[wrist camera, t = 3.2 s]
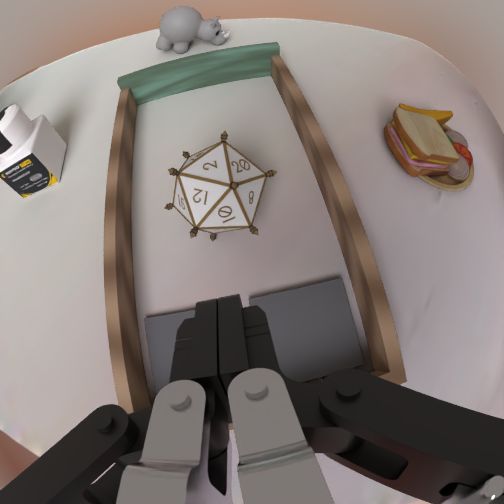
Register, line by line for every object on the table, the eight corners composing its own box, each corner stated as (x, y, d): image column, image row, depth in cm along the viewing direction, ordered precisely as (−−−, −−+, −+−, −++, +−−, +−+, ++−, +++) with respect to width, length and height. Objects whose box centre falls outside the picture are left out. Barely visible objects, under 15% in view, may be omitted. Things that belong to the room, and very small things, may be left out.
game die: (228, 212, 31) (241, 121, 26) (280, 254, 26) (306, 144, 20) (149, 229, 26) (151, 122, 20) (189, 283, 21) (197, 146, 15)
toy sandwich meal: (481, 199, 26) (501, 179, 22) (394, 192, 27) (411, 165, 23) (449, 125, 31) (462, 103, 26) (368, 111, 31) (377, 84, 27)
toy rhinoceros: (218, 66, 40) (232, 26, 32) (149, 53, 37) (156, 12, 29) (224, 47, 42) (238, 11, 35) (163, 34, 39) (170, -3, 31)
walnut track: (389, 379, 21) (415, 382, 16) (143, 427, 20) (116, 439, 15) (277, 70, 35) (277, 42, 30) (130, 102, 34) (118, 77, 30)
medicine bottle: (24, 200, 30) (-28, 153, 19) (33, 162, 32) (-10, 114, 21) (60, 183, 30) (7, 125, 19) (68, 144, 33) (26, 88, 21)
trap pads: (362, 364, 21) (363, 364, 21) (160, 404, 21) (158, 404, 21) (340, 278, 24) (341, 277, 24) (146, 319, 24) (144, 318, 23)
